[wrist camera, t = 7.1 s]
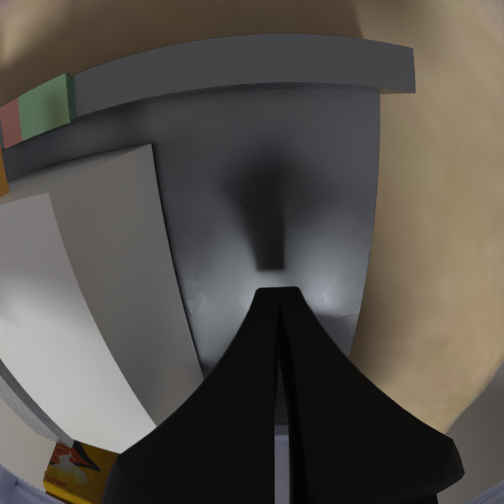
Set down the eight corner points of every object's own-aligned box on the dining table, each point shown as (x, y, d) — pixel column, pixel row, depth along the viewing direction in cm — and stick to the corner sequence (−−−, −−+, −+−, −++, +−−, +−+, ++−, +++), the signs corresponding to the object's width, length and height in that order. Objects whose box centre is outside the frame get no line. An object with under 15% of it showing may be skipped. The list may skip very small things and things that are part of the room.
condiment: (74, 371, 16) (16, 507, 6) (180, 417, 18) (153, 562, 7) (77, 407, 20) (38, 511, 9) (160, 443, 21) (138, 552, 11)
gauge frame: (336, 383, 15) (351, 474, 10) (69, 369, 16) (37, 434, 11) (368, 59, 7) (484, 27, 2) (-20, 140, 8) (-105, 179, 3)
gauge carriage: (203, 377, 13) (187, 466, 9) (103, 367, 14) (72, 438, 9) (143, 68, 7) (32, 51, 3) (16, 116, 7) (-81, 148, 3)
